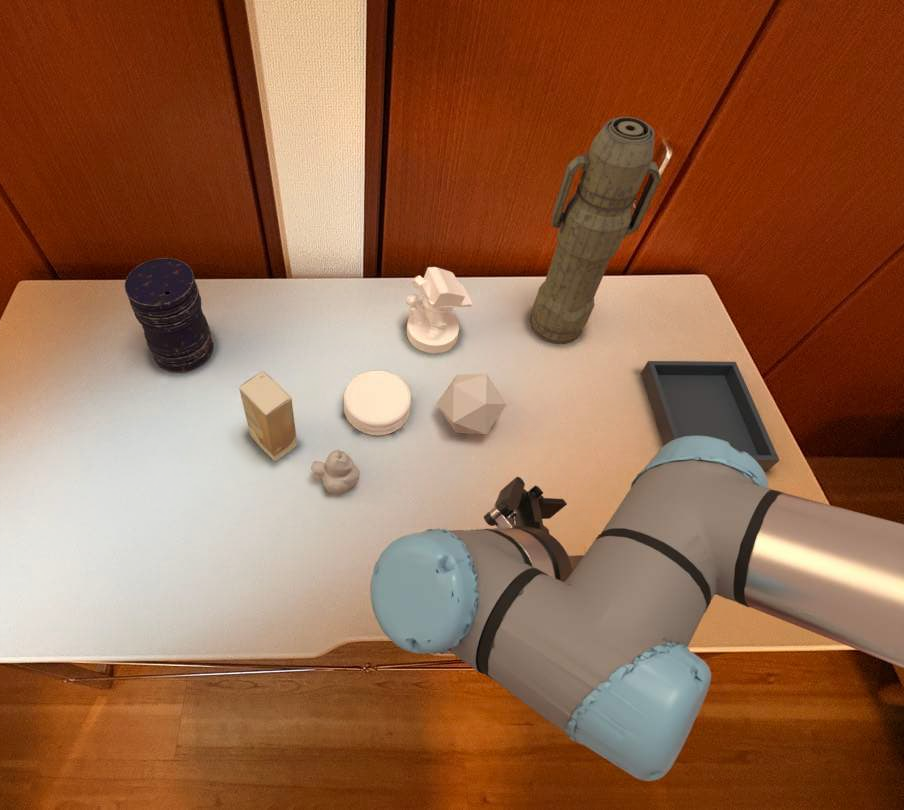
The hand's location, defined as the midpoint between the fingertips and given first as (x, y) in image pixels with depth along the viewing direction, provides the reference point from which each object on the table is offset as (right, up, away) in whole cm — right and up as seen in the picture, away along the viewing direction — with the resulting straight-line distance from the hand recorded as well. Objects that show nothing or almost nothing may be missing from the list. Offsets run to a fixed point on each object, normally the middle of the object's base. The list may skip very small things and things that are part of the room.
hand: (596, 559), depth 67 cm
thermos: (+7, +30, +37) cm, 48 cm away
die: (-10, +14, +25) cm, 31 cm away
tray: (+25, +15, +25) cm, 39 cm away
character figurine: (-13, +29, +35) cm, 47 cm away
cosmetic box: (-38, +11, +23) cm, 46 cm away
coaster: (-23, +16, +26) cm, 39 cm away
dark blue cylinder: (-55, +26, +33) cm, 69 cm away
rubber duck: (-29, +6, +19) cm, 35 cm away
